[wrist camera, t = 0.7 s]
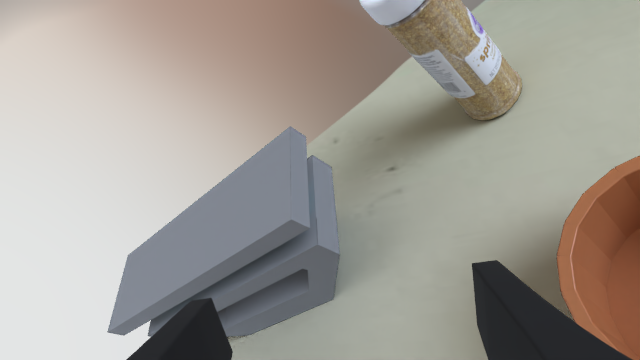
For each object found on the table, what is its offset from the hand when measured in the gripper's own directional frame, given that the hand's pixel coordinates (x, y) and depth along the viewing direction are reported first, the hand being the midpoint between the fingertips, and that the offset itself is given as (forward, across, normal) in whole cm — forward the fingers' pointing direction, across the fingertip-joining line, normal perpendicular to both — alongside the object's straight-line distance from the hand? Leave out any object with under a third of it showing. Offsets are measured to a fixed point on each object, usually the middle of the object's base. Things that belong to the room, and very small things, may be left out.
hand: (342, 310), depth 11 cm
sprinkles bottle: (+23, -11, +1) cm, 26 cm away
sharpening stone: (+23, +9, +15) cm, 29 cm away
